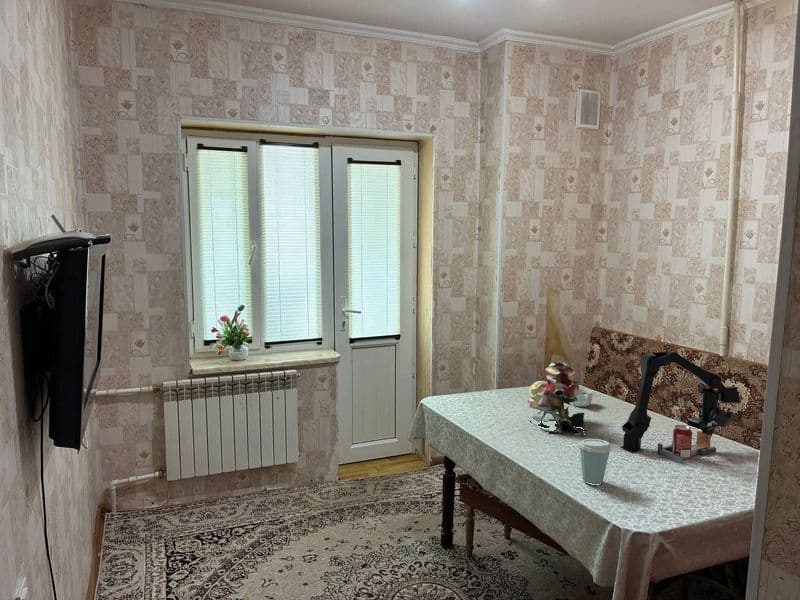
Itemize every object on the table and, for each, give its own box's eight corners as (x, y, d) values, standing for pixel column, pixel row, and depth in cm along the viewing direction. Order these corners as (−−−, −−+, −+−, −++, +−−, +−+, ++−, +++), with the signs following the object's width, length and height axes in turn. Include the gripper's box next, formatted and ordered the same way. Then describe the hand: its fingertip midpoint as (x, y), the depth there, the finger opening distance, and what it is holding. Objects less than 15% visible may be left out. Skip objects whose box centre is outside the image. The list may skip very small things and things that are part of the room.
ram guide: (702, 455, 229) (702, 450, 228) (689, 450, 234) (689, 445, 234) (715, 452, 232) (716, 447, 232) (702, 447, 237) (702, 442, 237)
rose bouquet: (577, 416, 277) (580, 355, 274) (592, 437, 248) (595, 369, 245) (523, 415, 280) (525, 354, 276) (531, 436, 251) (533, 368, 247)
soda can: (692, 460, 224) (694, 430, 222) (674, 459, 225) (675, 429, 224) (687, 454, 230) (689, 424, 229) (669, 452, 232) (671, 423, 230)
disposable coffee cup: (571, 478, 207) (572, 438, 205) (594, 473, 211) (596, 434, 209) (592, 490, 197) (593, 448, 195) (616, 485, 201) (618, 443, 200)
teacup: (568, 402, 301) (569, 387, 301) (590, 402, 300) (590, 387, 299) (572, 410, 288) (573, 394, 287) (595, 411, 286) (596, 395, 285)
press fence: (680, 463, 220) (681, 452, 220) (657, 454, 230) (657, 443, 229) (702, 458, 226) (703, 447, 225) (679, 449, 235) (679, 438, 235)
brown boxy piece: (692, 456, 227) (693, 438, 226) (681, 452, 231) (682, 434, 230) (709, 452, 231) (710, 434, 230) (698, 448, 236) (699, 430, 235)
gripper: (712, 412, 221) (710, 451, 223) (744, 405, 229) (741, 443, 231) (687, 404, 231) (685, 442, 233) (718, 398, 239) (716, 434, 241)
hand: (707, 440), depth 234 cm, fingers closed
